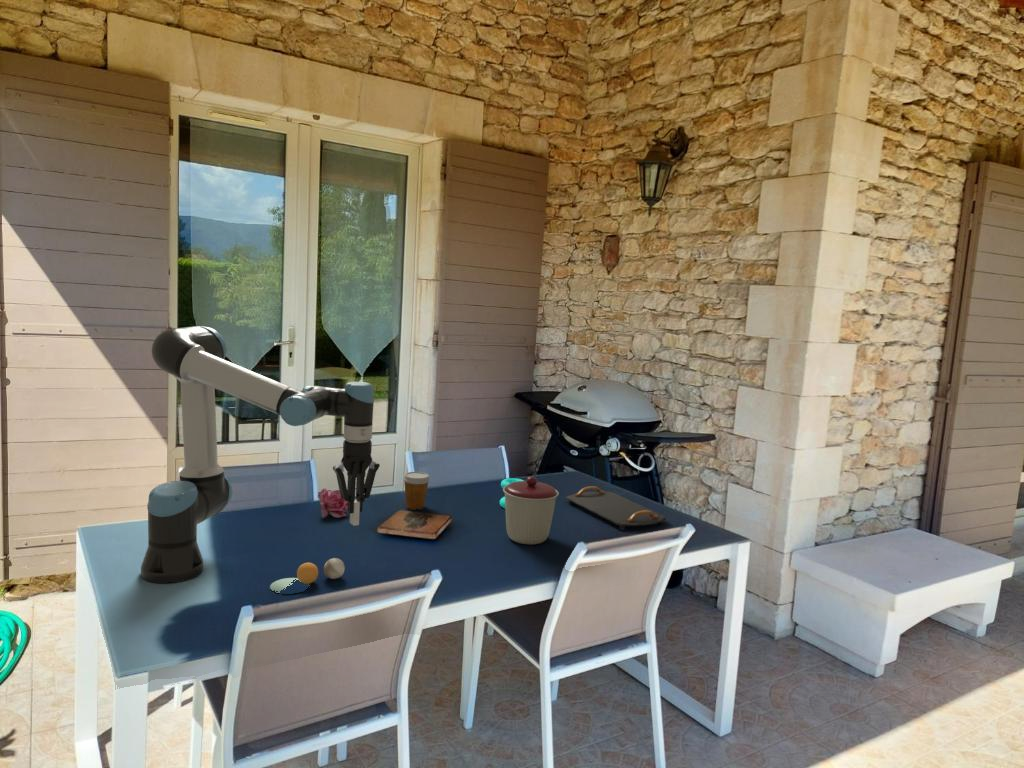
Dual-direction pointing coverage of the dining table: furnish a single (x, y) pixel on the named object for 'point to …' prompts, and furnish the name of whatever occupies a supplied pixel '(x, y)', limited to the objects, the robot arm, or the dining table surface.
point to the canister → (529, 510)
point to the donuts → (503, 484)
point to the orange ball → (307, 573)
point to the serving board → (615, 508)
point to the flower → (332, 503)
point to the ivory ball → (334, 568)
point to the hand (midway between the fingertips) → (354, 523)
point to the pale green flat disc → (282, 584)
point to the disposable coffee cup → (415, 489)
